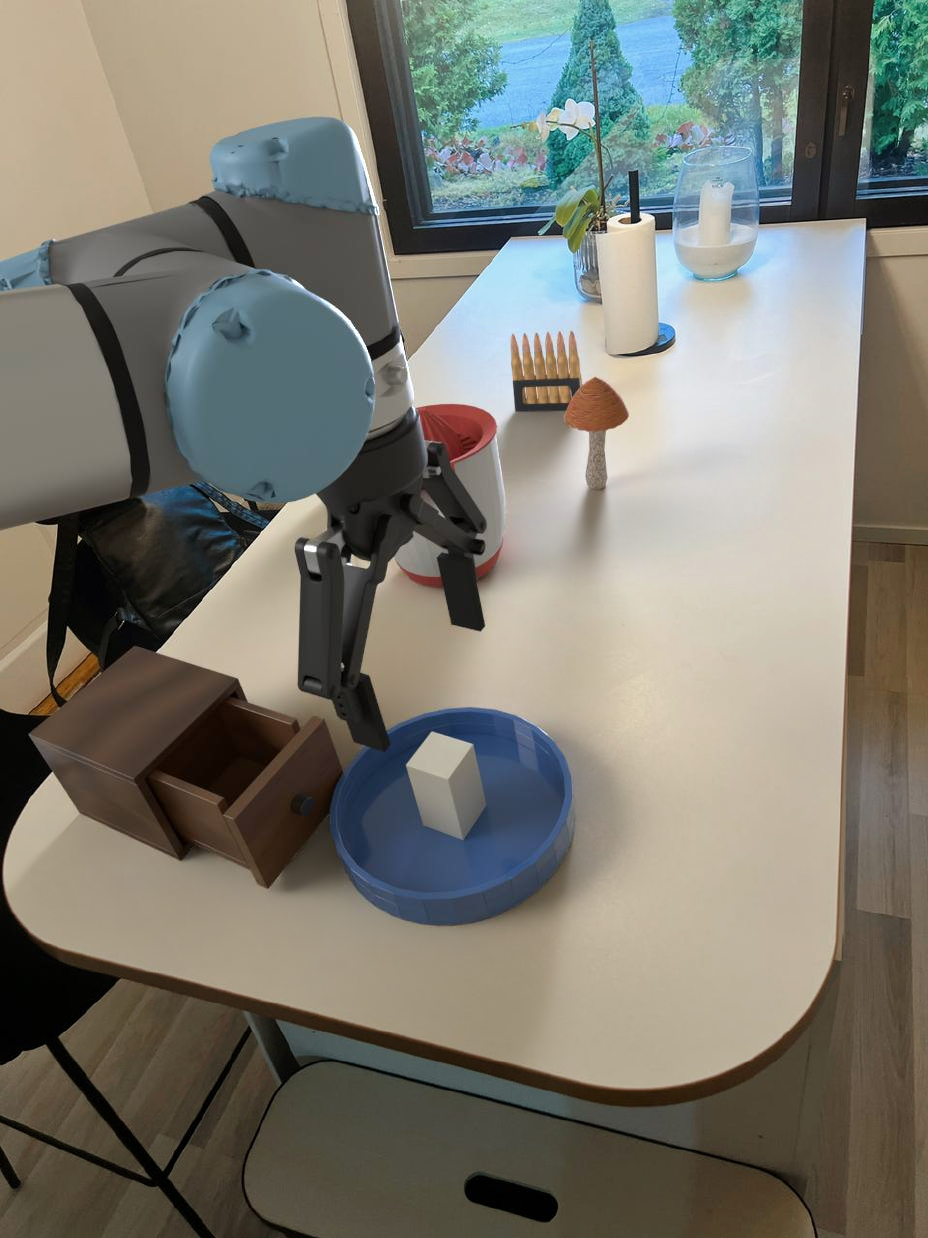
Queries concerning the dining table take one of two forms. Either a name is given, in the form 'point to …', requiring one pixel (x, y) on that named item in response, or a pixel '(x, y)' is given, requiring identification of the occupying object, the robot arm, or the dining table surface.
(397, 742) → the bowl
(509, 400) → the dining table surface
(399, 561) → the citrus juicer
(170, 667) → the cabinet
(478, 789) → the block
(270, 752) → the drawer
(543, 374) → the ammunition clip
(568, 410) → the mushroom
